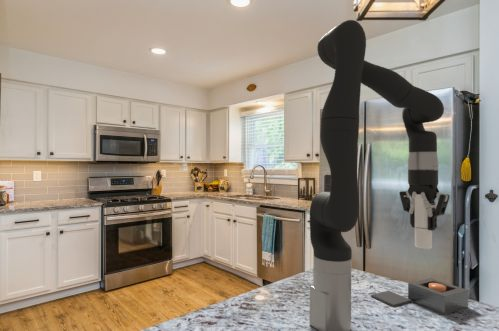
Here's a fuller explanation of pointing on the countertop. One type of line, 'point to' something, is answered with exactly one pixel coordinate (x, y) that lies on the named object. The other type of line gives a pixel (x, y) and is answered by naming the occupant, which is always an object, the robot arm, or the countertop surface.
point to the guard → (438, 296)
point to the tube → (422, 225)
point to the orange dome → (437, 287)
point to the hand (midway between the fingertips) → (423, 228)
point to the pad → (391, 298)
